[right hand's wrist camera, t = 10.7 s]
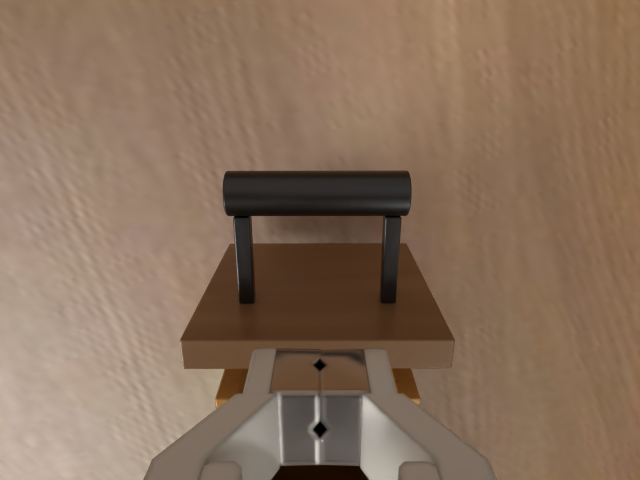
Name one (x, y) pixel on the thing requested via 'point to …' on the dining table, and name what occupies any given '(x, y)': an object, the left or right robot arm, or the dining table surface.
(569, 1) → the dining table surface
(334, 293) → the drawer
